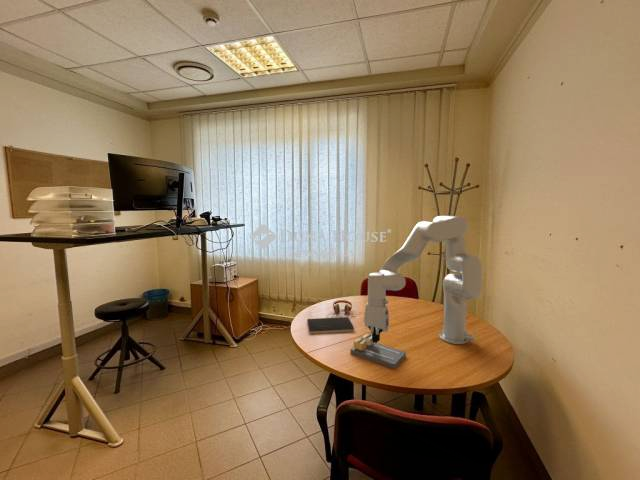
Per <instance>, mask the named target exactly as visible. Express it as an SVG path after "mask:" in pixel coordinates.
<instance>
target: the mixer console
mask: <svg viewBox="0 0 640 480" xmlns="http://www.w3.org/2000/svg"><path fill="white" fill-rule="evenodd" d="M350 354H351V355H352V356H353V355H354V356H356V357H359V358H362V359H364V360H367V361H370V362H372V363H376V364H378V365H381V366H384V367H387V368H390V369H391V370H392V369H393V370H395V369H396V368H397V367H398V366H399V365H400V364H401V363H402V361H404V359H405V358H406V357H407V352H406V351H404V350H401V349H398V348H394V347H390V346H388V345H384V344H380V343H379V342H377V343H375V342H374V343H373V344H372V345H371V346H369V345H366V348H365V349H363V350H362V351H361V350H358V349H355V348H354V346H353V347H352V348H350Z"/></svg>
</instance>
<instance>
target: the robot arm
mask: <svg viewBox="0 0 640 480" xmlns="http://www.w3.org/2000/svg"><path fill="white" fill-rule="evenodd" d="M468 227H469V223H468V220H467V219H466V218H465V217H464V216H460V215H448V214H447V215H443V214H442V215H438V216H435V217H434V218H433V219H432V221H427V220H426V221H425V220H424V221H419V222H417V224H415V226H414V227H413V229H412V231H411V233H409V235H408V237H407V239H406V240H405V242H404V243H403V245H402V246H401V247H400V248H399V249H398V250H396V251H395V252H394V253H393V254H391V255H390V256H389V257H388V258H387V259H386V260H385V261H384V263H383V265H382V266H381V268H380V270H379V272H376V271H375V272H374V271H373V272H370V273H369V274H368V276H367V277H368V278H367V302H366V304H365V308H364V309H365V310H364V317H363V318H364V319H363V320H364V327H366V328H368V329H369V331H370V334H371V335H372V339H373V343H374V342H375V343H379V342H380V338H381V334H382V333H387V332H388V331H389V328H388V327H389V326H390V315H389V314H390V313H389V308H388V305H389V301H388V300H387V297H386V295H387V293H386V291H394V292H395V291H401V290H403V289H404V288H405V286H406V283H407V282H406V278H405V277H404V276H403V274H401V273H399V272H397V271H398V270H399V269H400V268H401V267H402V266H403V265H405V264H406V263H410V262H412V261H416V260H417V259H419V258H420V257H421V255H422V253H423V252H424V250H425V249H426V247H427V246H428V244H429V242H431V243H439V242H440V243H441V242H444V245H445V265H446V268H447V269H448V270H449V271H452V273H448V274H446V275H445V276H444V278H443V280H442V287H443V288H442V289H443V297H444V298H443V299H444V300H443V301H444V303H443V320H442V321H443V323H442V325H443V327H442V330H441V332H439V335H438V336H439V338H440V339H441V340H442V341H444V342H447V343H449V344H452V345H465V344H468V343H469V341H471V342H475V341H476V336H474V334H470V333H468V330H467V329H466V321H467V320H466V319H467V317H466V316H467V300H469V301H474V300H476V299H478V298H480V296H481V295H482V289H483V265H482V262H481V259H480V258H479V257H478V256H477V255H476V254H473V253H469V252H467V246H466V244H467V243H466V238H465V236H464V235H465V234H466V233H467V231H468V230H469V228H468ZM453 272H455V273H453Z"/></svg>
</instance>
